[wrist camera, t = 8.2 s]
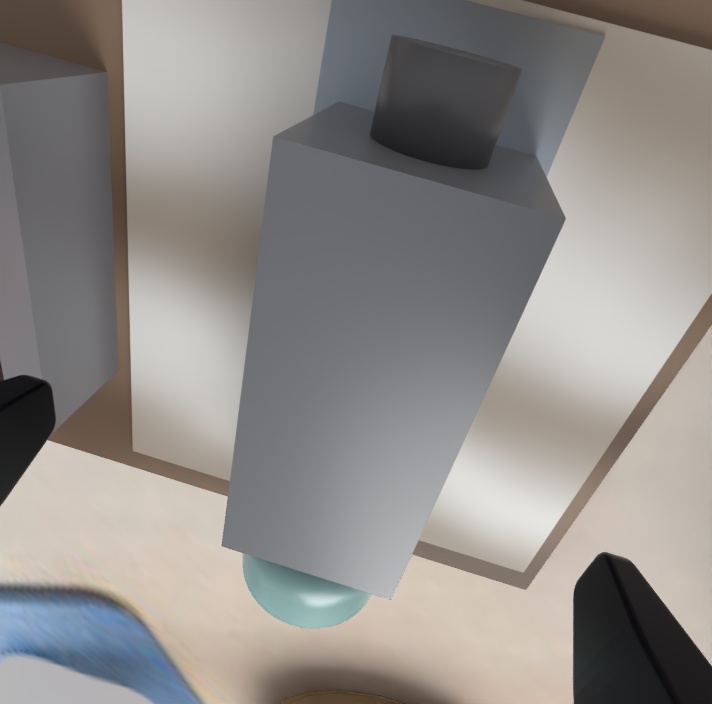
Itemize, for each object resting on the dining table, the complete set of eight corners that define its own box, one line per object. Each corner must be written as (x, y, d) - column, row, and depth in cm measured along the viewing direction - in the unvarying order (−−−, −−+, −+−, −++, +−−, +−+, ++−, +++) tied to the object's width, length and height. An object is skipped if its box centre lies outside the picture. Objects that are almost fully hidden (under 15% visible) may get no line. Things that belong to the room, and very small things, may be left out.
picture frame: (524, 568, 18) (526, 596, 17) (-76, 381, 19) (-103, 399, 18) (887, 26, 9) (932, 25, 8) (-272, -273, 10) (-345, -302, 9)
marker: (388, 525, 16) (366, 653, 13) (267, 487, 17) (214, 603, 13) (568, 77, 9) (619, 102, 6) (354, 19, 10) (288, 14, 6)
